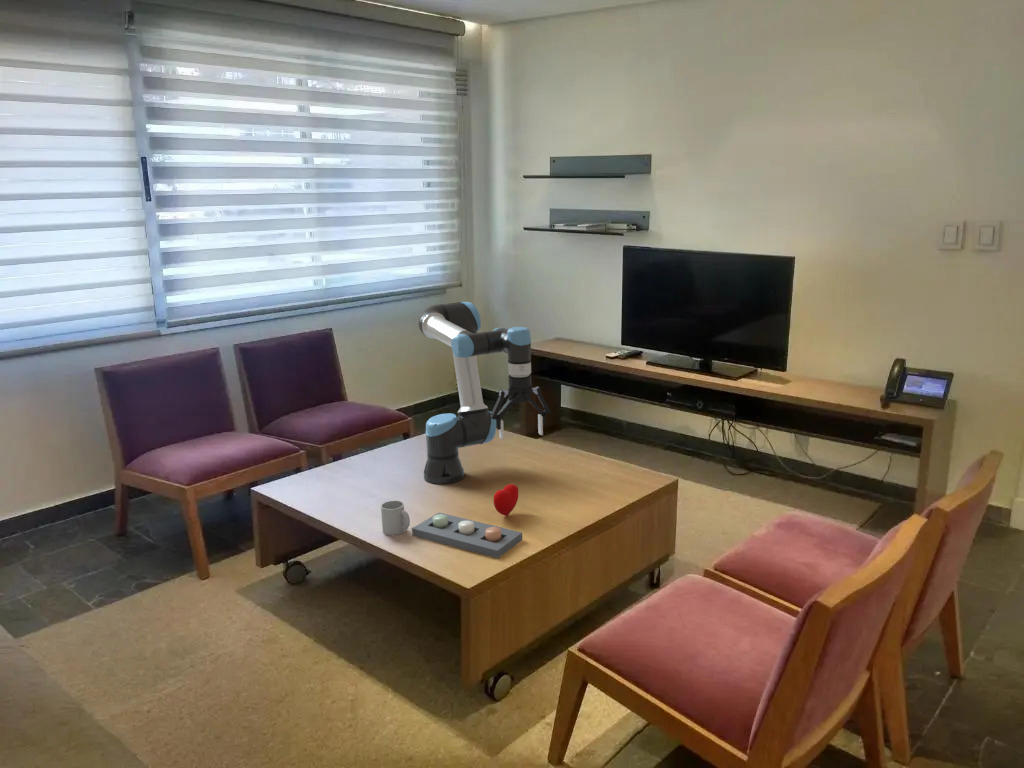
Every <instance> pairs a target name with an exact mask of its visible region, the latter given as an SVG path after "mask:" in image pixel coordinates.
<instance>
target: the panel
mask: <svg viewBox="0 0 1024 768" xmlns="http://www.w3.org/2000/svg"><path fill="white" fill-rule="evenodd" d="M438 514H444V515H447V516H448V526H447V527H446V528H444V529H439V528H435V527H433V516H435V515H438ZM467 520H468V521H472V522H474V533H473V534H471V535H470V536H466V535H462V534H459V526H458V524H459V522H461V521H467ZM490 527H498V528H500V529H501V540H500V541H499V542H497V543H494V542H490V541H486V537H485V530H486V529H487V528H490ZM411 535H412V537H416V538H419V539H420V538H421V539H423V540H427V541H431V542H435V543H439V544H442V545H446V546H450V547H454V548H457V549H461V550H464V551H469V552H473V553H476V554H480V555H484V556H488V557H490V556H491V557H490V558H493V559H494V558H495V559H499V558H500V557H502V556H503V555H504V554H506V553H507V552H508V551H510V550H511V549H513V548H514V547H515V546H517V545H518V544H519V543H521V542H522V541H523V532H521V531H517V530H513V529H510V528H509V529H508V528H504V527H501V526H497V525H492V524H488V523H485V522H480V521H476V520H472V519H467V518H463V517H460V516H455V515H452V514H448V513H447V514H446V513H443V512H437V513H436V514H434V515H432V516H430V517H429V518H427V519H424V521H421V522H420V523H418V524H417V525H415V526H413V527H411Z"/></svg>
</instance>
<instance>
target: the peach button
mask: <svg viewBox="0 0 1024 768" xmlns="http://www.w3.org/2000/svg"><path fill="white" fill-rule="evenodd" d="M498 527H499V526H497V527H490V528H487V529H486V530H485V537H486V541H490V542H494V543H497V542H499V541H500V540H501V529H500V528H498Z"/></svg>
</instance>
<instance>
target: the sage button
mask: <svg viewBox="0 0 1024 768" xmlns="http://www.w3.org/2000/svg"><path fill="white" fill-rule="evenodd" d="M444 514H445V513H444ZM444 514H438V515H435V514H434V515H435V516H434V515H432V516H433V527H435V528H439V529H444V528H446V527H447V526H448V516H447V515H444Z"/></svg>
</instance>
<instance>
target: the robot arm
mask: <svg viewBox="0 0 1024 768" xmlns="http://www.w3.org/2000/svg"><path fill="white" fill-rule="evenodd" d="M481 324H482V319H481V315H480V312H479V310H478V308H477V306H475V304H474V303H472V302H471V301H457V302H450V303H449V302H448V303H442V304H433V305H430V306H428V307H426V308H424V310H423V311H422V312H421V313H420V314H419V317H418V323H417V326H418V329H419V330H420V332H421V334H422V335H424V336H425V337H427V338H428V339H435V340H438V341H440V342H442V343H443V344H445V345H447V346H448V347H451V351H452V358H453V363H454V370H455V371H454V372H455V377H456V383H457V384H456V385H457V389H458V397H459V404H460V408H459V409H458V411H457V415H456V414H455V413H451V412H449V413H440V414H437V415H433V416H431V417H430V418H429V419H428V420H427V421H426V423H425V438H426V439H425V440H426V452H427V453H426V455H427V456H426V462H425V466H424V470H423V479H424V481H426V482H428V483H431V484H438V485H440V484H442V485H445V484H447V485H448V484H452V483H456V482H459V481H461V480H462V479H463V478H464V477H465V469H464V467H463V465H462V462H461V459H460V457H459V455H460V454H459V449H460V448H467V447H471V446H475V445H476V446H477V445H483V444H485V443H489V442H491V441H493V439H494V438H495V436H496V433H497V430H499V431H498V433H499V435H498V437H499V439H500V440H504V439H505V437H504V435H505V434H504V432H505V431H504V420H503V418H504V416H505V415H506V414H507V412H508V411H509V410H510V408H511V407H512V406H513V405H514V404H515V403H516V404H519V403H520V404H521V403H526V402H529V403H530V404H531V405H532V406H533V407H534V408H535V409H536V411H537V412H539V413H538V414H537V429H538V432H537V433H538V434H539V435H540V436H544V430H543V429H544V427H543V426H544V425H546V416H547V415H548V414H551V413H552V411H551V409H550V407H549V405H548V404H547V402H546V400H545V398H544V396H543V394H542V388H541V387H539V386H538V385H537V386H535V387H532V375H531V374H532V362H531V361H532V338H531V330H530V329H529V327H526V326H525V327H524V326H513V327H510V328H504V327H497V328H494V329H493V330H488V331H481V332H479V331H480V330H481V327H482V326H481ZM500 353H505V354H507V366H508V368H507V370H508V371H507V374H508V389H507V390H503V389H500V390H499V391H498V397H497V399H496V401H495V405H494V406H493V408H492V411H490V410H489V407H488V405H486V404H485V403H484V399H483V394H482V392H483V391H482V386H481V382H480V381H481V380H480V373H479V367H478V359H477V357H478V356H485V355H492V354H500ZM533 393H534V394H535V395H536V396H537V399H538V400H539V402H540V403H541V406H542V407H543V409H544V410H543V409H542V408H541V407H540V406H539V405H538V404H537V403H536V401H535V400H534V399H533V398H532V397H531V396H532V394H533ZM507 395H508V396H509V397H508V398H507V400H506V402H505V403H504V405H503V402H504V400H505V398H506V397H507ZM502 405H503V406H502ZM501 406H502V407H501Z"/></svg>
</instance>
